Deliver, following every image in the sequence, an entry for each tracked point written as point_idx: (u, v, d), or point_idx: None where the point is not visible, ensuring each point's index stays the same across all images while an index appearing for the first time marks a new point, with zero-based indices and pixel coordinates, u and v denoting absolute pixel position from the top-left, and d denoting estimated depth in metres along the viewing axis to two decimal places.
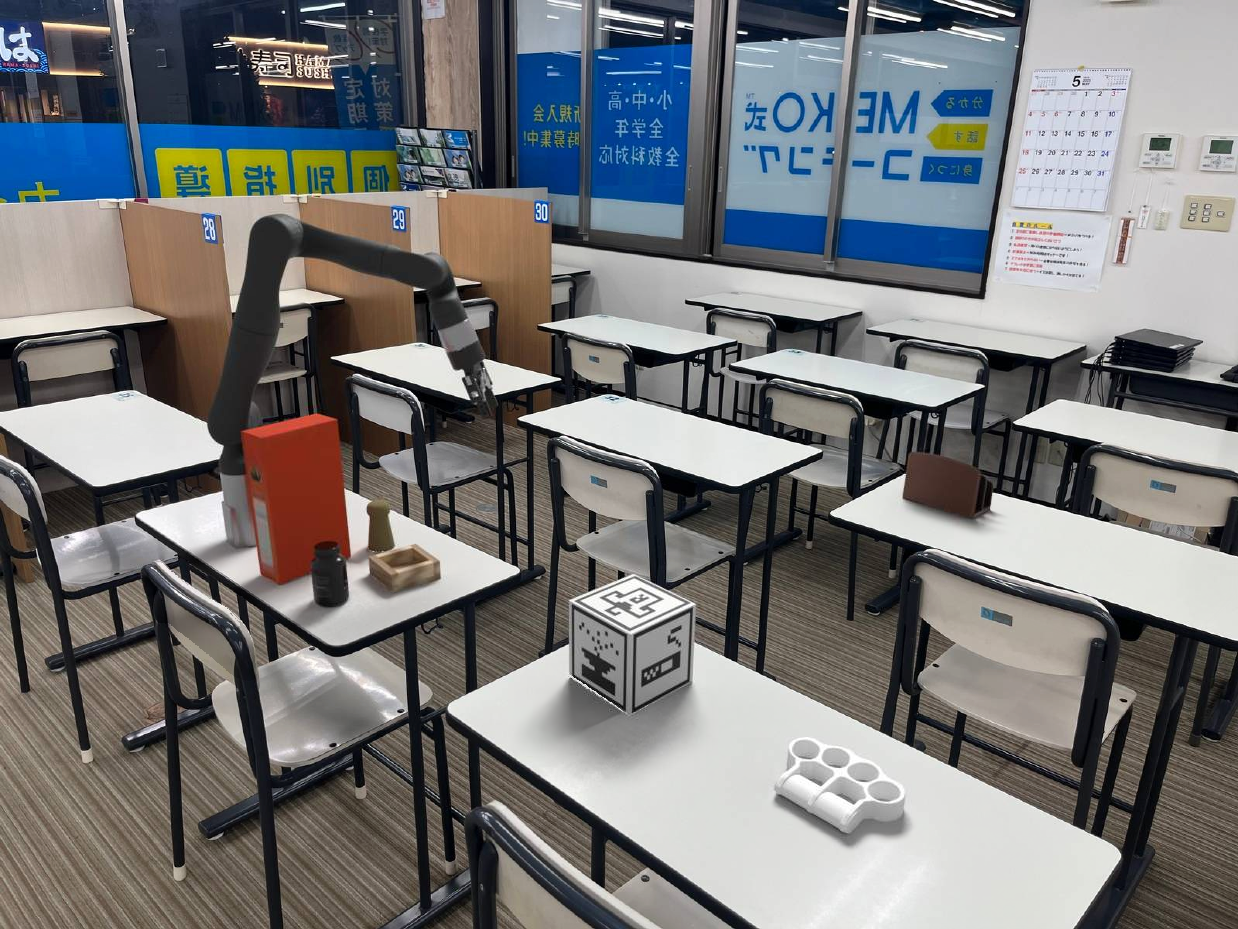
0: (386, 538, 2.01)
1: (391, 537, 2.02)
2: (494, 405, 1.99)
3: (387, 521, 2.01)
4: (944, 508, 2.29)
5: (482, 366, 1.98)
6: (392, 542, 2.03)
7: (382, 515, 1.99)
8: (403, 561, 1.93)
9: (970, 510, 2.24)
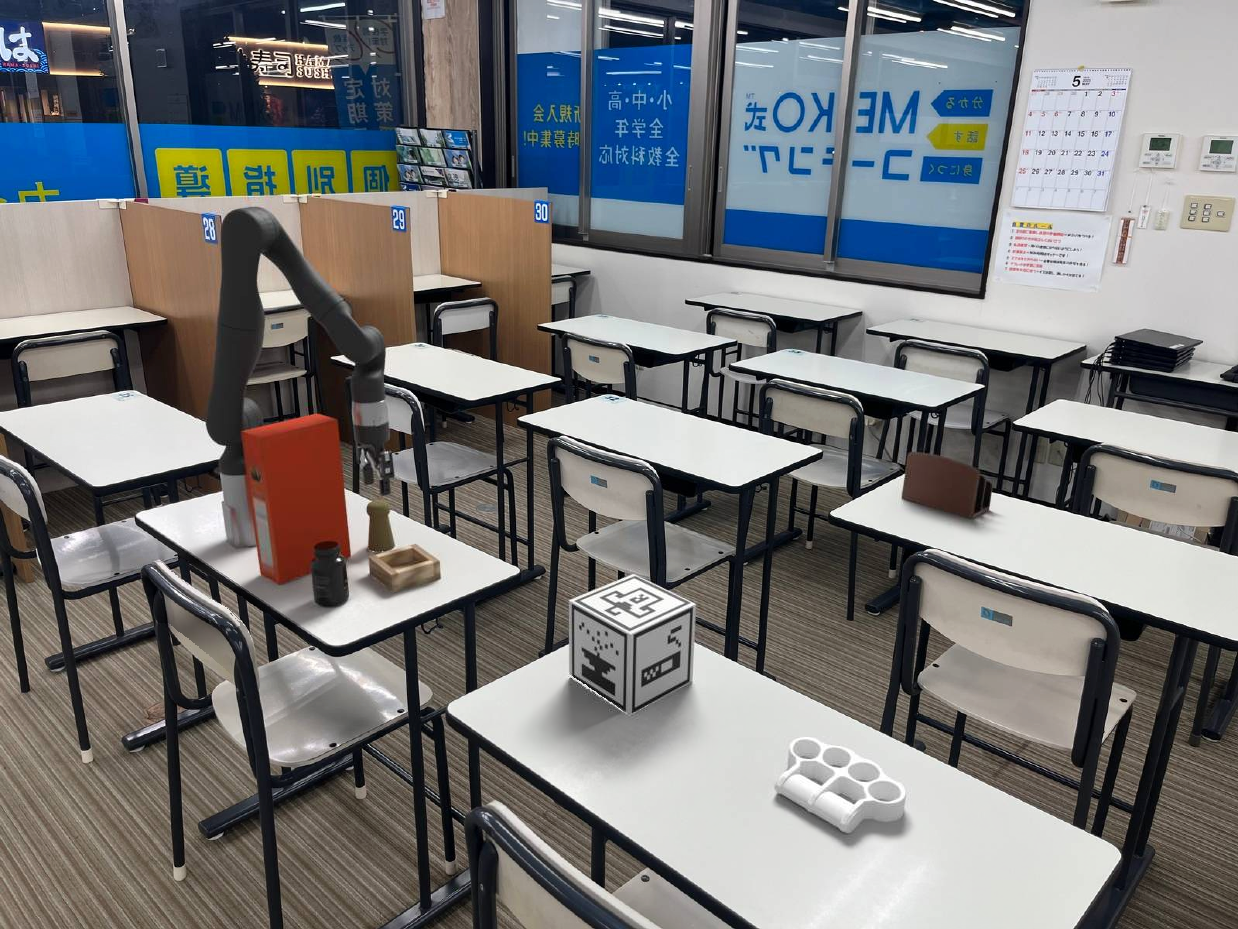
0: (386, 538, 2.01)
1: (391, 537, 2.02)
2: (370, 482, 2.02)
3: (387, 521, 2.01)
4: (943, 508, 2.29)
5: None
6: (392, 542, 2.03)
7: (382, 515, 1.99)
8: (403, 561, 1.93)
9: (969, 510, 2.24)
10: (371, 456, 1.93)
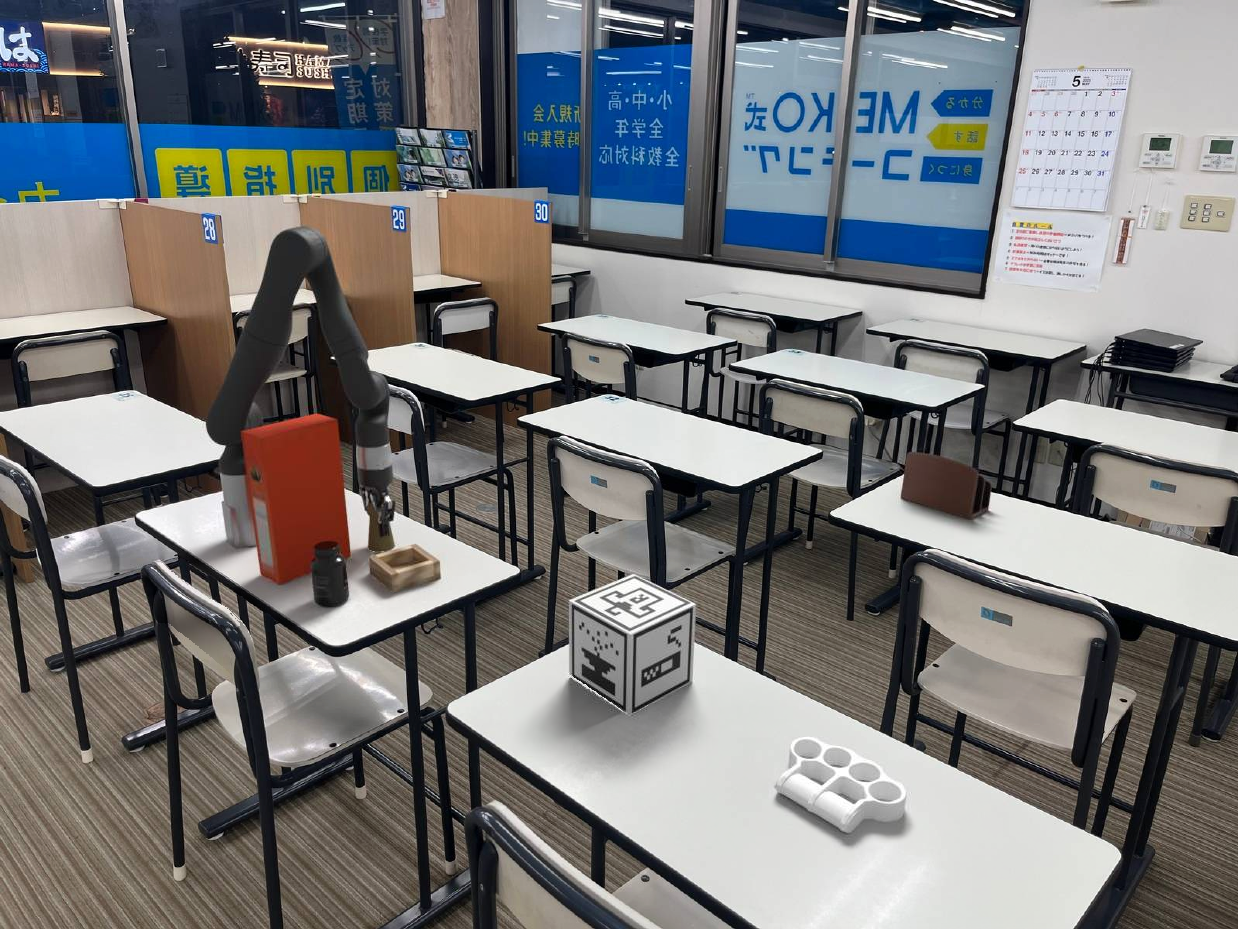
0: (386, 538, 2.01)
1: (391, 537, 2.02)
2: None
3: None
4: (942, 508, 2.29)
5: None
6: (392, 542, 2.03)
7: None
8: (403, 561, 1.93)
9: (968, 510, 2.23)
10: (374, 500, 1.97)
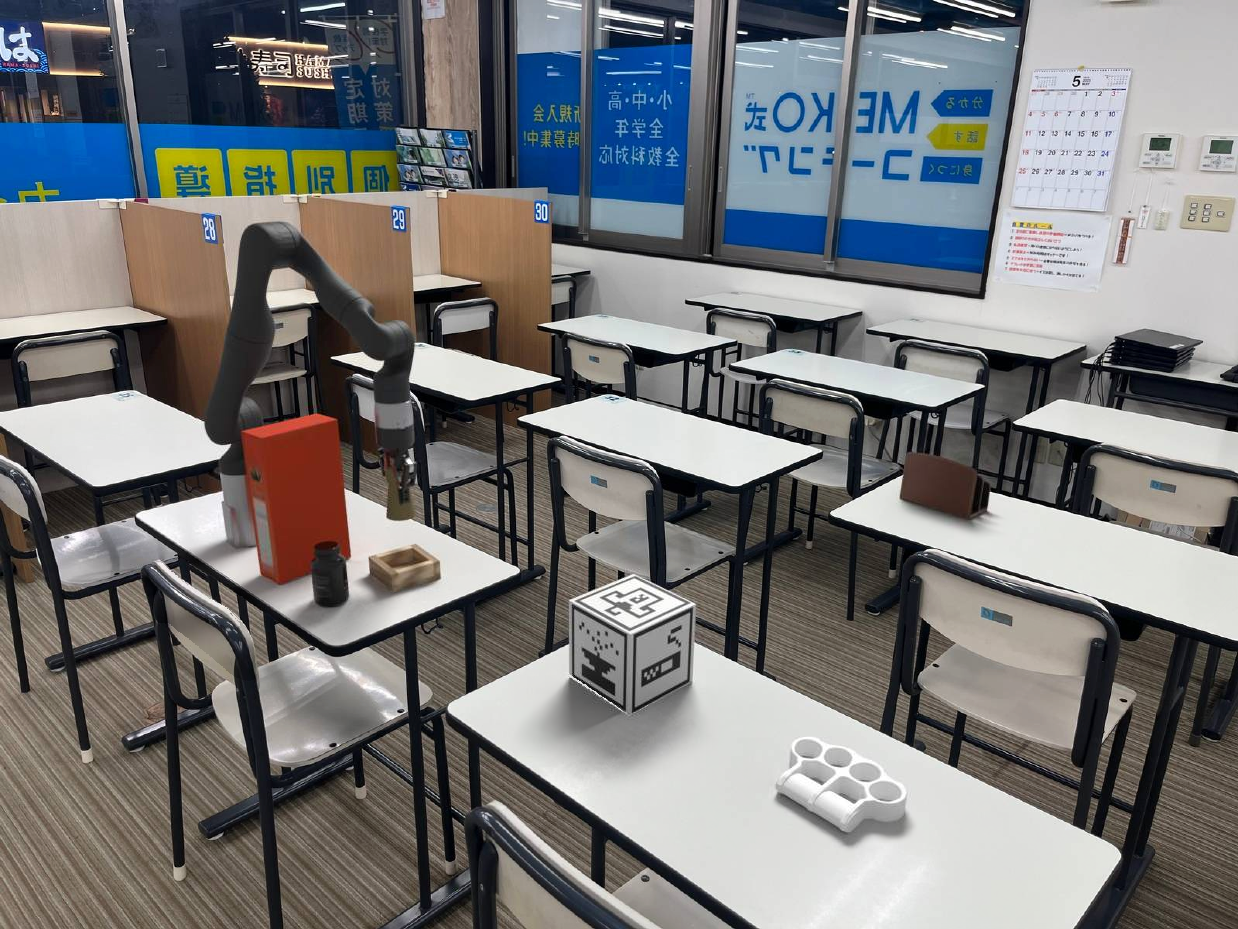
0: (406, 506, 1.82)
1: (412, 505, 1.84)
2: None
3: None
4: (941, 509, 2.28)
5: None
6: (413, 510, 1.84)
7: None
8: (403, 561, 1.93)
9: (966, 511, 2.23)
10: (394, 463, 1.79)
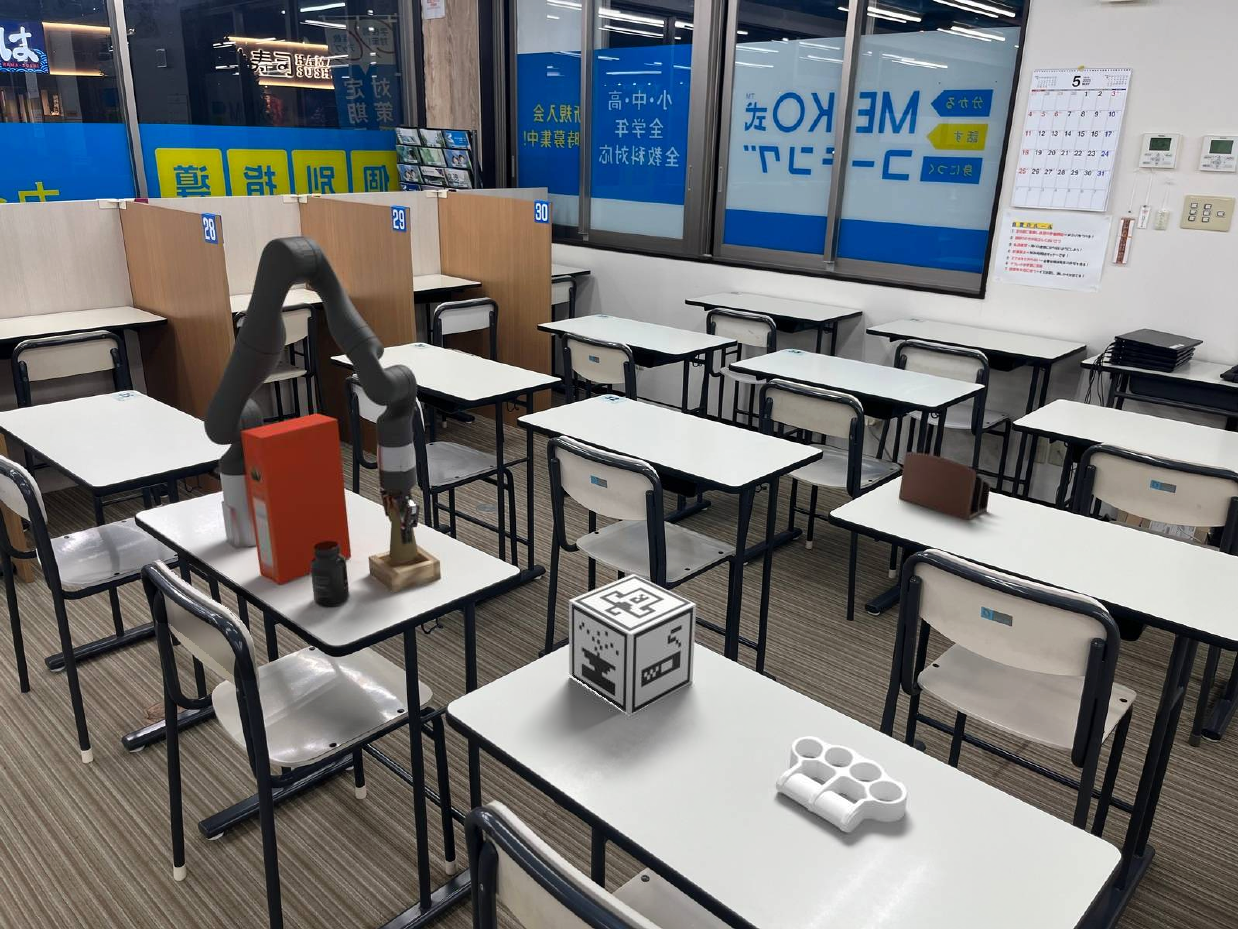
0: (409, 546, 1.85)
1: (414, 544, 1.87)
2: None
3: None
4: (940, 509, 2.28)
5: None
6: (416, 550, 1.87)
7: None
8: (403, 561, 1.93)
9: (965, 511, 2.23)
10: (397, 504, 1.81)
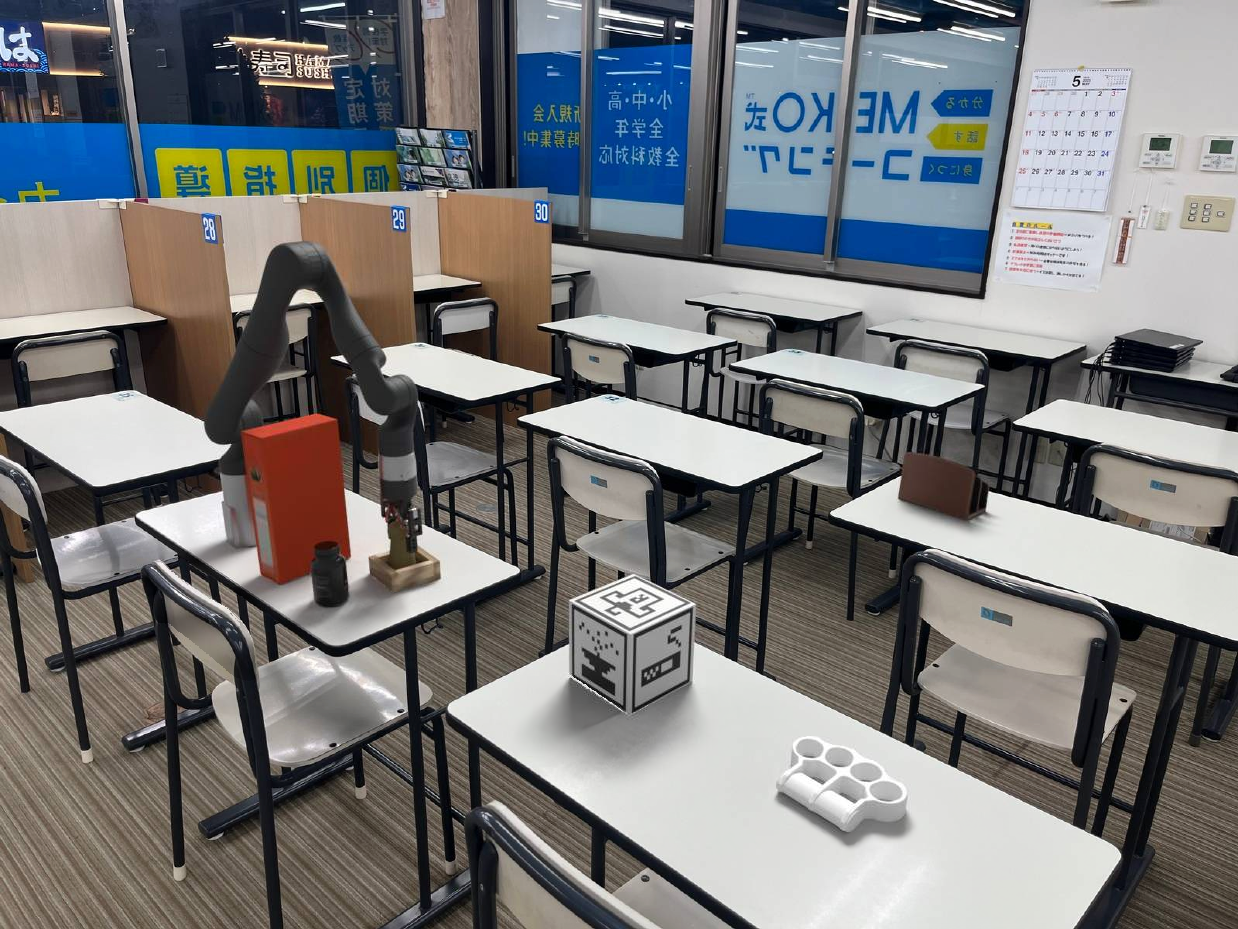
0: (408, 561, 1.87)
1: (413, 560, 1.89)
2: None
3: None
4: (939, 509, 2.28)
5: None
6: None
7: (404, 536, 1.85)
8: None
9: (964, 511, 2.23)
10: (398, 512, 1.82)
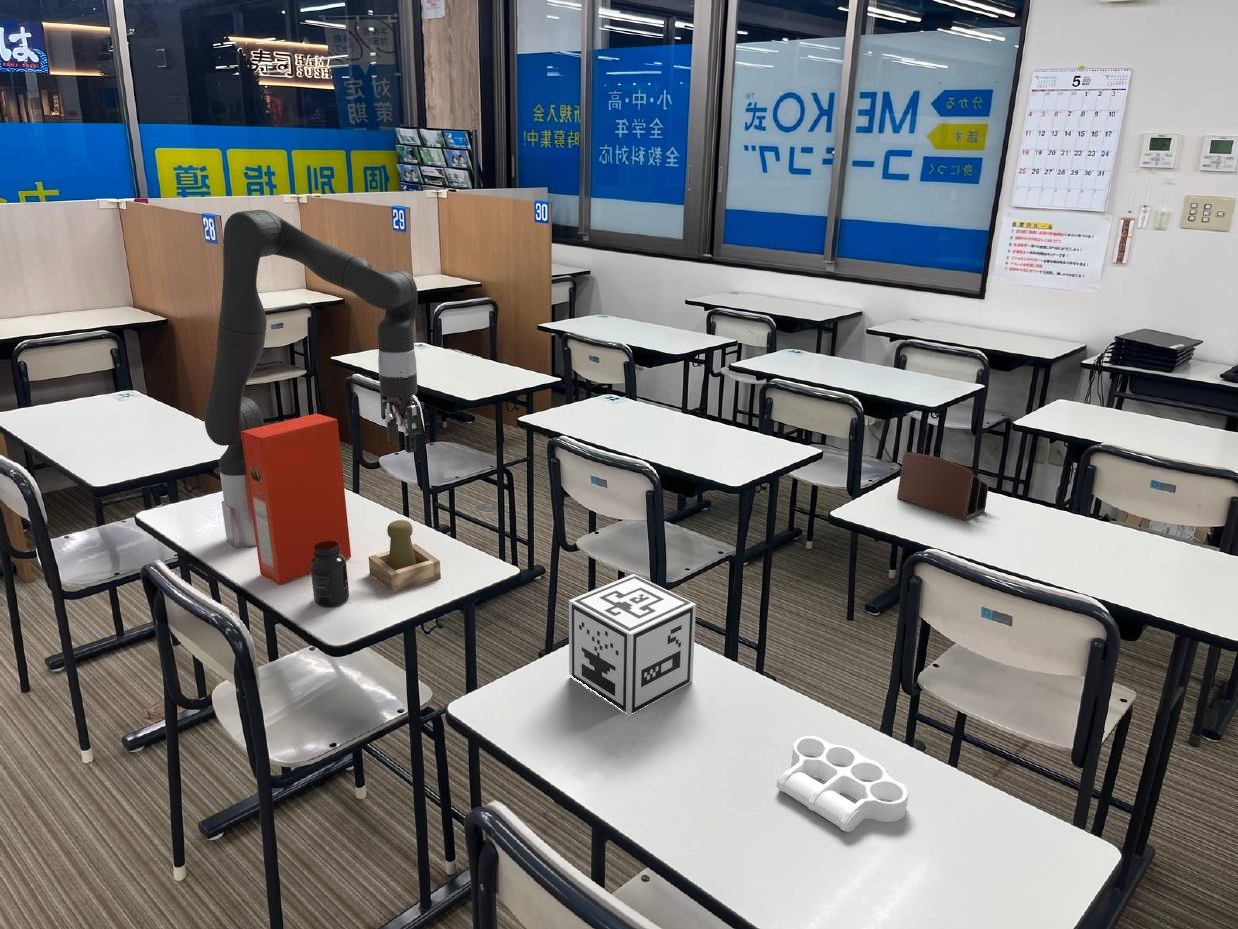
0: (408, 561, 1.87)
1: (413, 560, 1.89)
2: (395, 439, 1.90)
3: (409, 543, 1.87)
4: (937, 509, 2.28)
5: None
6: None
7: (404, 536, 1.85)
8: None
9: (963, 511, 2.23)
10: (397, 410, 1.82)
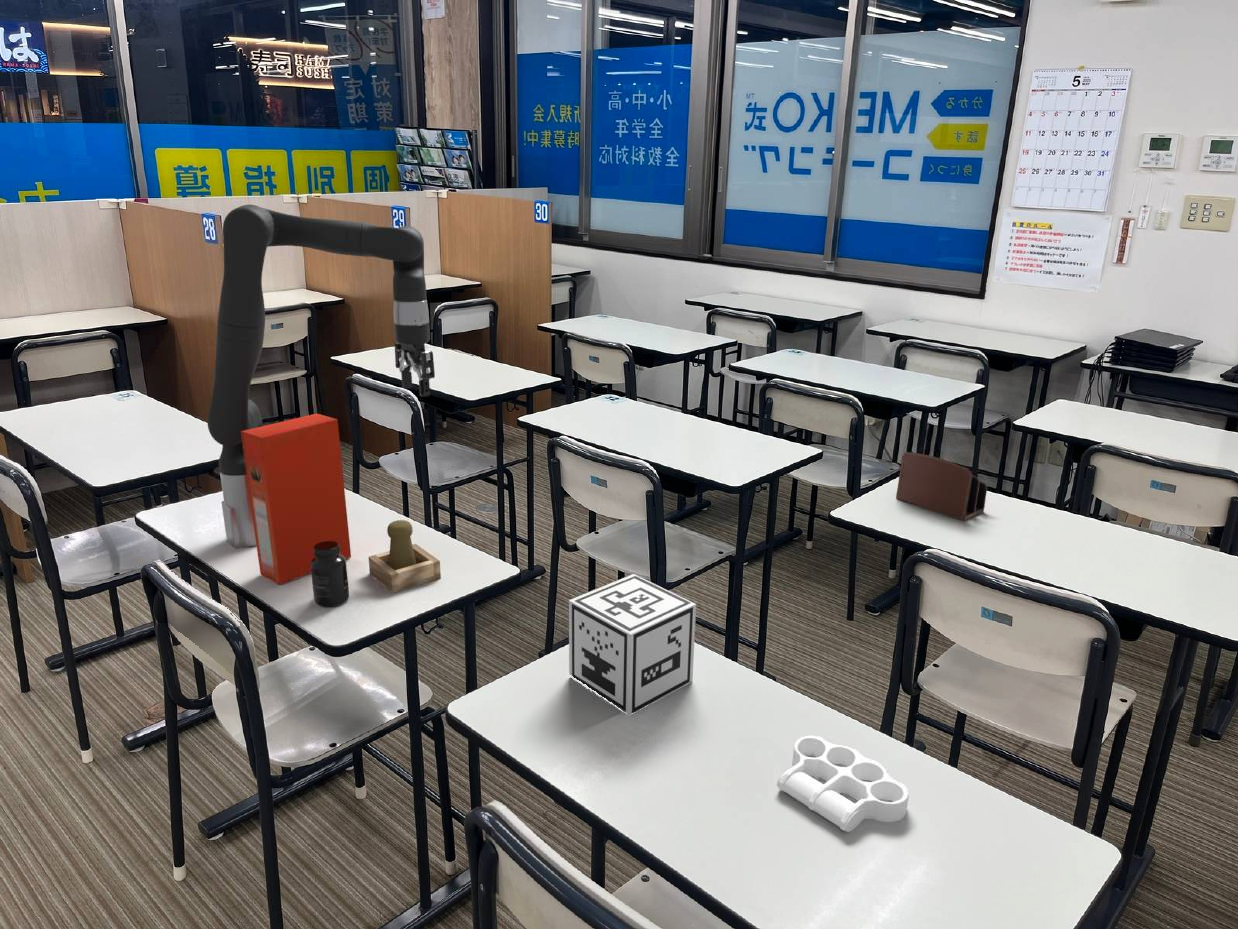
0: (408, 561, 1.87)
1: (413, 560, 1.89)
2: (409, 386, 2.04)
3: (409, 543, 1.87)
4: (936, 509, 2.28)
5: None
6: None
7: (404, 536, 1.85)
8: None
9: (961, 511, 2.23)
10: (411, 357, 1.96)
